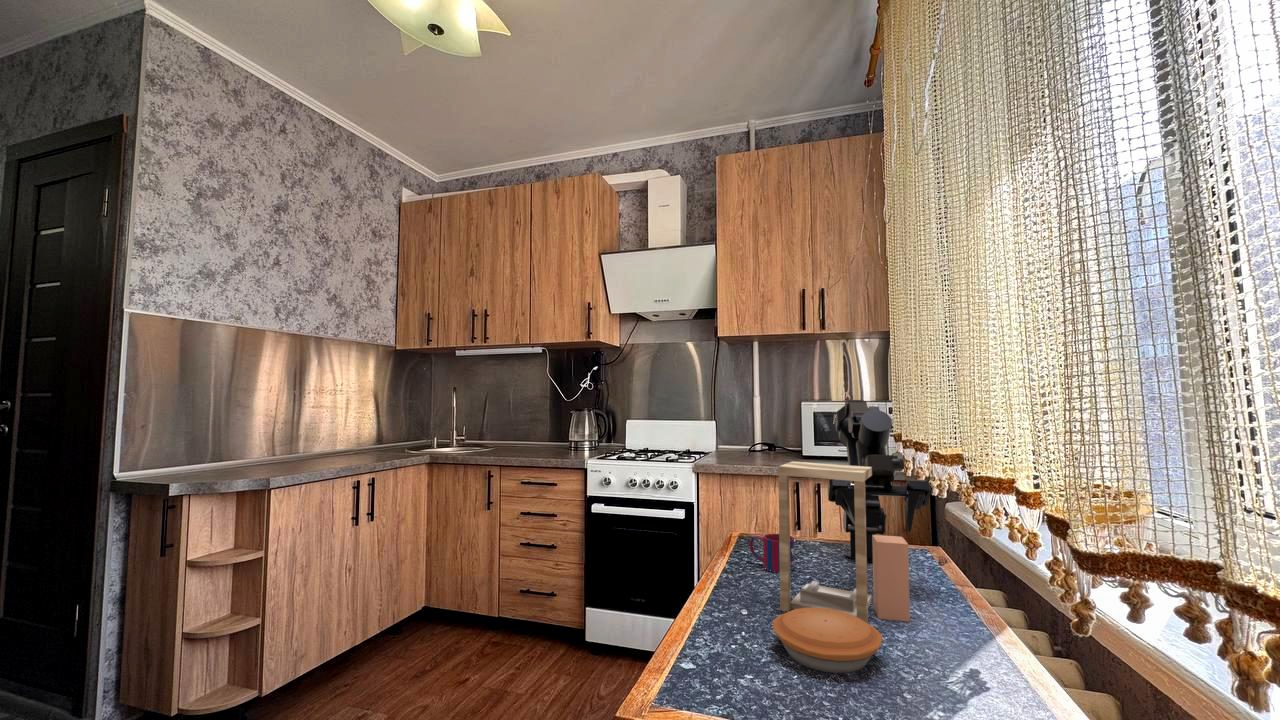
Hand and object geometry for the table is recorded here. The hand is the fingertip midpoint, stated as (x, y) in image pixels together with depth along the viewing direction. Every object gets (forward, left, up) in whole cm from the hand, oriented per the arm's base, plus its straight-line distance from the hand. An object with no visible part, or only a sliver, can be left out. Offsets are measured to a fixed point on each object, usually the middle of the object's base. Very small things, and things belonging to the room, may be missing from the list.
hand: (883, 529), depth 104 cm
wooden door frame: (+10, -5, -13) cm, 17 cm away
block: (+6, +4, -13) cm, 15 cm away
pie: (+28, +5, -13) cm, 32 cm away
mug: (0, -25, -13) cm, 29 cm away
